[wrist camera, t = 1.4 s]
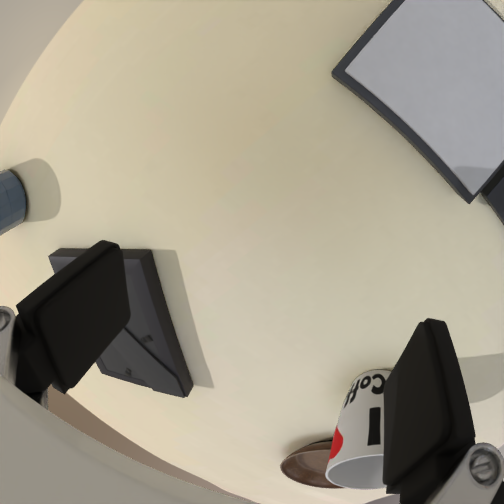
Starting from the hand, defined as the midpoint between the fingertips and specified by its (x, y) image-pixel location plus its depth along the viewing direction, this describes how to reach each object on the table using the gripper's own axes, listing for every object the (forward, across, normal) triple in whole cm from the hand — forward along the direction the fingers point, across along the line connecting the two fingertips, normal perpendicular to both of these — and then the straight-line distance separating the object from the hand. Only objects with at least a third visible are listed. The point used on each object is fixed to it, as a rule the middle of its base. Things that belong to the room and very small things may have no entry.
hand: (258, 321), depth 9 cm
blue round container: (+14, +33, +5) cm, 36 cm away
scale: (+14, -8, -10) cm, 19 cm away
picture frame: (+14, +17, +18) cm, 28 cm away
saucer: (+14, -12, +34) cm, 39 cm away
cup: (+14, -11, +17) cm, 25 cm away
